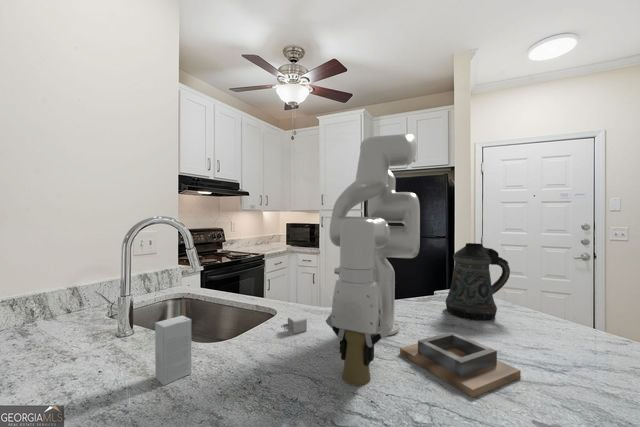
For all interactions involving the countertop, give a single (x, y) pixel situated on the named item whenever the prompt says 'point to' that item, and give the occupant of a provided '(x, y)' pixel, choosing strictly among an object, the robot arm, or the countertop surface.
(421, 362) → the shaker holder
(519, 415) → the countertop surface
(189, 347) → the skincare box
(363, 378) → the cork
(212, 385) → the countertop surface
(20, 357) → the countertop surface
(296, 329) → the usb wall charger
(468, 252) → the beer stein
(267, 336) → the countertop surface
